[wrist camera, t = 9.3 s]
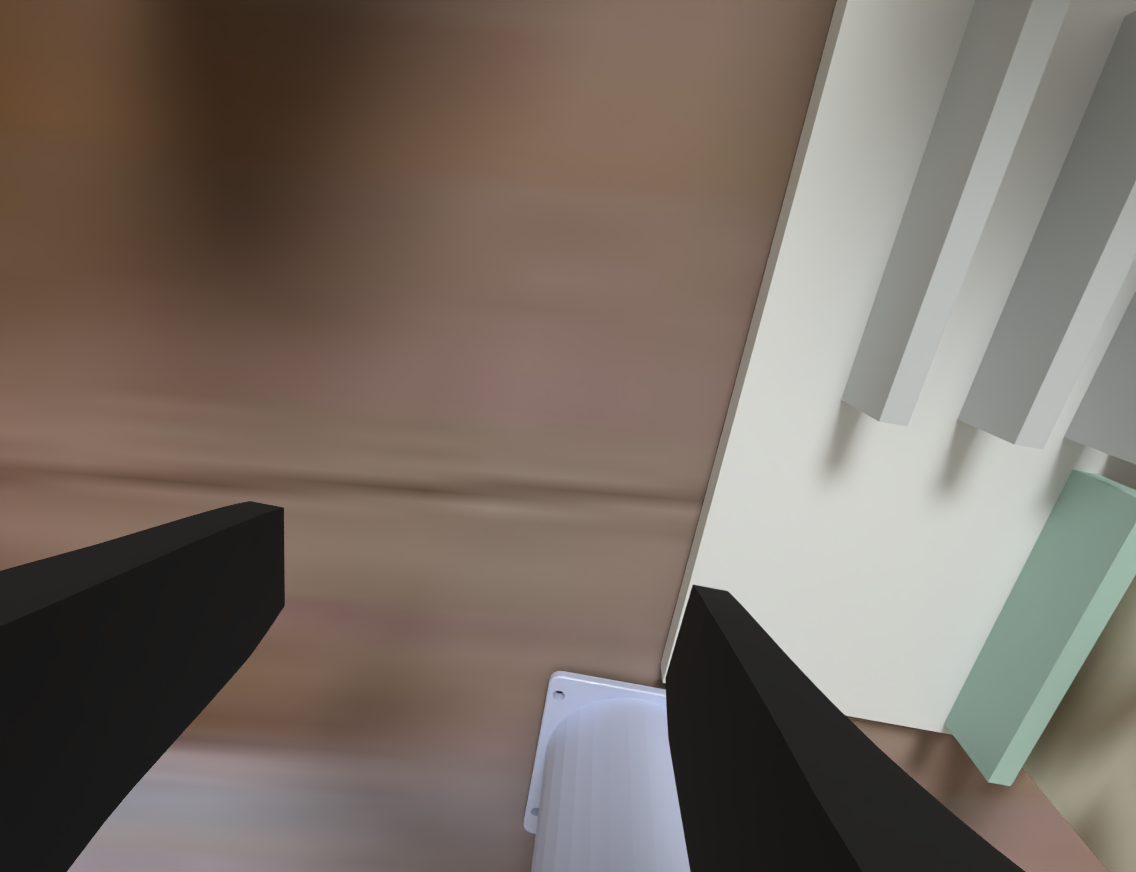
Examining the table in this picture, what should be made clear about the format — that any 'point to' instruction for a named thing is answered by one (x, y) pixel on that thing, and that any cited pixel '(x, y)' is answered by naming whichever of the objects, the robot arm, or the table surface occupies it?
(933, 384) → the rack
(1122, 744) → the birch sheet
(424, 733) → the table surface
